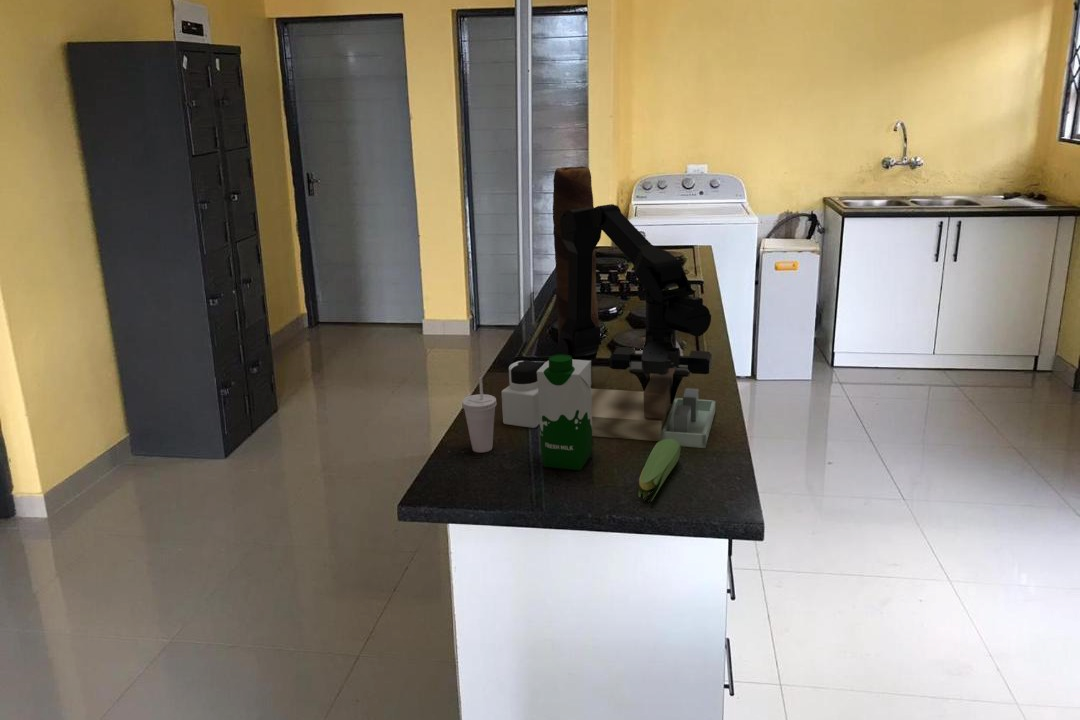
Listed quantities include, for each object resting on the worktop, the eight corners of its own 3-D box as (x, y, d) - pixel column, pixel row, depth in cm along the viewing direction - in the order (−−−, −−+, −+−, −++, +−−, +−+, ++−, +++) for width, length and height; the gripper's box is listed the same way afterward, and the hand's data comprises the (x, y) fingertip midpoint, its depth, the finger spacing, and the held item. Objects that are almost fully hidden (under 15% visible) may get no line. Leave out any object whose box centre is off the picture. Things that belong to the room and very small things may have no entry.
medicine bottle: (550, 415, 176) (547, 359, 172) (535, 428, 170) (532, 370, 166) (518, 411, 179) (515, 356, 175) (502, 424, 172) (499, 367, 169)
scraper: (644, 418, 161) (643, 392, 160) (656, 391, 174) (655, 367, 172) (665, 418, 160) (665, 393, 159) (676, 392, 173) (675, 368, 171)
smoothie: (494, 456, 158) (490, 384, 154) (460, 454, 159) (455, 383, 155) (503, 442, 164) (498, 372, 160) (470, 440, 165) (465, 371, 161)
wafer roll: (554, 356, 213) (547, 169, 199) (560, 343, 223) (554, 165, 209) (596, 356, 211) (592, 168, 197) (600, 343, 221) (597, 164, 207)
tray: (661, 444, 160) (661, 432, 159) (675, 409, 176) (675, 397, 175) (705, 448, 158) (705, 435, 157) (715, 412, 174) (715, 400, 173)
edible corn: (688, 437, 152) (663, 428, 153) (658, 490, 135) (630, 478, 136) (679, 461, 154) (656, 452, 156) (649, 516, 137) (622, 505, 138)
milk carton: (536, 468, 152) (531, 360, 146) (552, 448, 160) (548, 344, 154) (584, 473, 150) (581, 363, 143) (598, 452, 158) (595, 347, 151)
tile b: (673, 414, 159) (687, 415, 158) (677, 404, 164) (690, 405, 163) (673, 439, 161) (687, 440, 160) (677, 429, 165) (690, 430, 165)
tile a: (682, 397, 168) (695, 397, 167) (685, 388, 172) (698, 388, 172) (682, 420, 169) (695, 421, 168) (685, 411, 174) (698, 412, 173)
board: (572, 434, 166) (572, 415, 165) (590, 406, 180) (590, 388, 178) (661, 441, 161) (661, 421, 160) (672, 412, 175) (672, 393, 174)
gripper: (602, 334, 157) (604, 414, 162) (706, 339, 152) (705, 421, 157) (615, 318, 167) (616, 393, 172) (713, 322, 162) (711, 400, 167)
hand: (660, 402), depth 167 cm, fingers closed on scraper, 4 cm apart
